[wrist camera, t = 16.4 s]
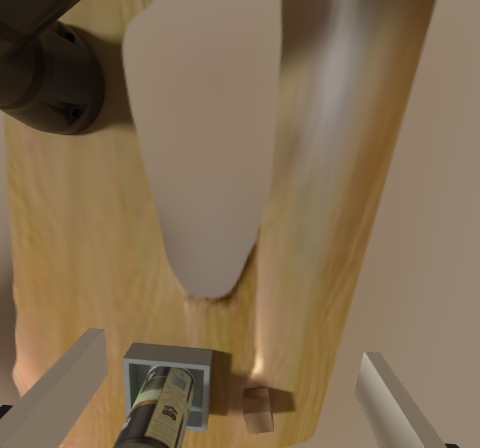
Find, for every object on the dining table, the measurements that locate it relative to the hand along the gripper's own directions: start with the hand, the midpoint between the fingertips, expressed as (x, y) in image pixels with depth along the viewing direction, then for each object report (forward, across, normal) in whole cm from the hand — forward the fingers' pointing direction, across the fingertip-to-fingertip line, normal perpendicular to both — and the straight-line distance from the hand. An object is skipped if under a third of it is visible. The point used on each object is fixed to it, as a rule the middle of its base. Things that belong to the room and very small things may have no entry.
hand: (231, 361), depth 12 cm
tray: (+28, -12, -34) cm, 46 cm away
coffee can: (+28, -12, -34) cm, 46 cm away
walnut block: (+29, +6, -37) cm, 47 cm away
